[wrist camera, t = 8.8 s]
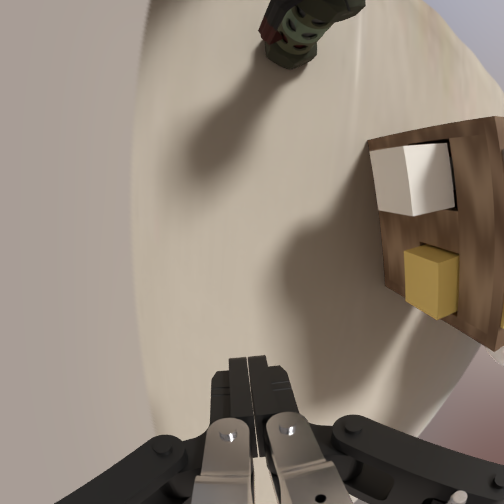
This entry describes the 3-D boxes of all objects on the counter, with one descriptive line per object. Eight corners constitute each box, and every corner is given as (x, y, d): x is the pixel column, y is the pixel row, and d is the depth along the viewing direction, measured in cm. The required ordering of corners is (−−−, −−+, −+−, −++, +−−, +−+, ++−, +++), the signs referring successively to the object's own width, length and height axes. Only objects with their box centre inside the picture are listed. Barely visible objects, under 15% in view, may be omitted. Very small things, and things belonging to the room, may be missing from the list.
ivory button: (369, 151, 21) (403, 145, 17) (428, 146, 22) (464, 142, 17) (378, 210, 22) (412, 216, 18) (435, 198, 23) (471, 203, 18)
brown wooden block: (367, 140, 28) (498, 115, 12) (420, 136, 29) (545, 121, 13) (385, 285, 31) (497, 353, 15) (433, 269, 32) (543, 318, 16)
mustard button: (403, 250, 23) (438, 263, 19) (454, 236, 24) (488, 245, 20) (405, 301, 24) (437, 320, 20) (454, 282, 25) (486, 296, 20)
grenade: (265, 87, 26) (325, 3, 11) (231, 38, 24) (259, -69, 9) (322, 62, 26) (409, -13, 11) (289, 15, 24) (349, -79, 10)
